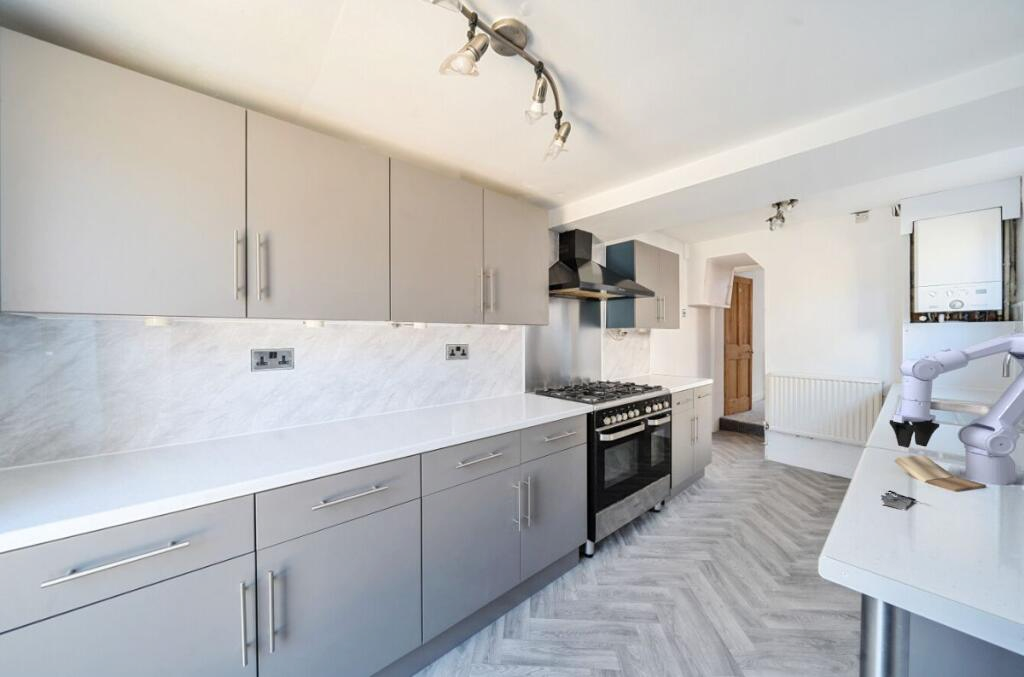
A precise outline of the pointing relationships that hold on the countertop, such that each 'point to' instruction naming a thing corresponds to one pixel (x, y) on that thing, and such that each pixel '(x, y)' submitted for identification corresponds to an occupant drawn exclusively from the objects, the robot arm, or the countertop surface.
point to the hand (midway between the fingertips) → (912, 446)
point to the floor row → (956, 484)
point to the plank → (922, 468)
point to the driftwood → (897, 501)
